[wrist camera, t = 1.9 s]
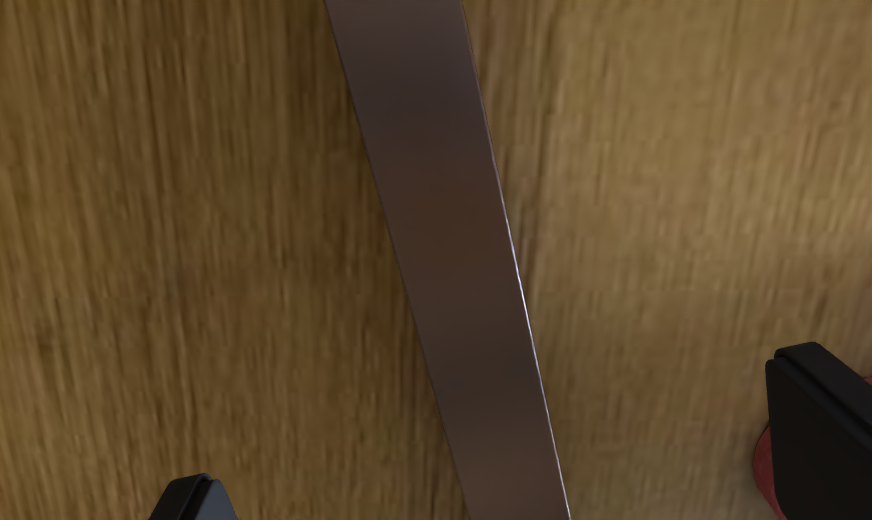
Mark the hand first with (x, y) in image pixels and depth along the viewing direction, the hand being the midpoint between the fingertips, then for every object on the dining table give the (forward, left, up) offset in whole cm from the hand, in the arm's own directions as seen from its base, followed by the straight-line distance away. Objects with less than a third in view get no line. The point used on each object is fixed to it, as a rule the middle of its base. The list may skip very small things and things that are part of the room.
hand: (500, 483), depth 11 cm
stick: (0, 0, -6) cm, 6 cm away
